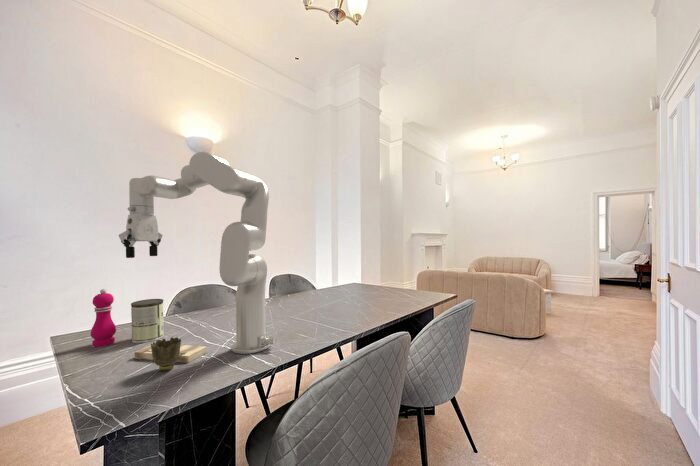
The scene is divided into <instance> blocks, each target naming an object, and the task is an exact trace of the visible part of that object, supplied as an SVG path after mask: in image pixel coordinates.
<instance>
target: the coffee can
mask: <svg viewBox="0 0 700 466" xmlns="http://www.w3.org/2000/svg"><path fill="white" fill-rule="evenodd" d="M130 306H131V307H130V309H131V314H130V315H131V316H130V317H131V342H132V343H133V344H134V343H135V344H142V343H150V342H153V341H154V342H155V341H157V340H161V339H162V338H164V336H165V334H164V299H163V298H148V299H142V300H136V301H133V302H131V303H130Z"/></svg>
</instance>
